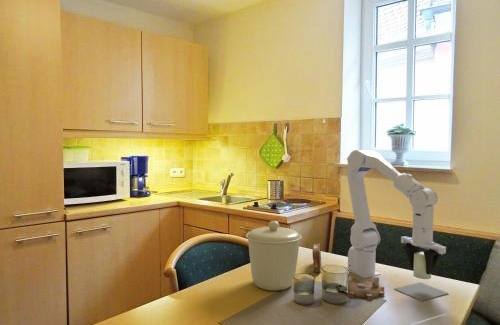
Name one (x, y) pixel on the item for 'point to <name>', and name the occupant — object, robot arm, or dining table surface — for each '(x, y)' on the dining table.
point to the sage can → (420, 266)
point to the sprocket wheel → (365, 288)
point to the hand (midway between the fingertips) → (421, 270)
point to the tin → (316, 258)
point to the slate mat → (421, 291)
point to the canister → (273, 256)
